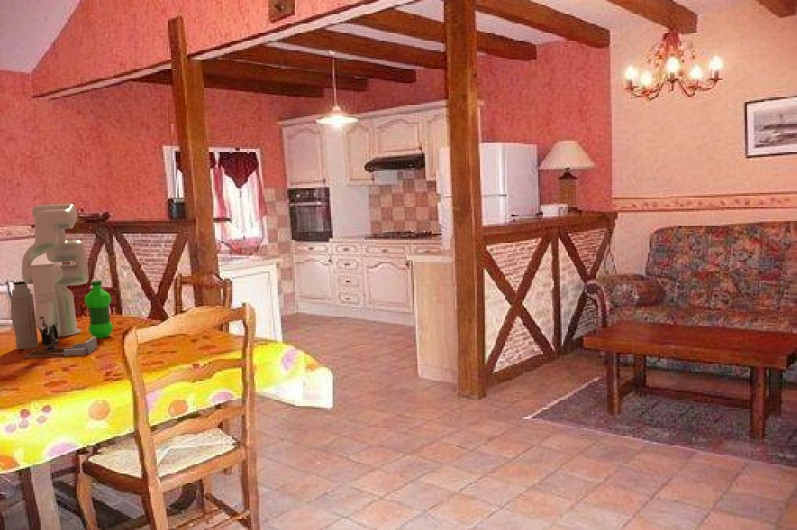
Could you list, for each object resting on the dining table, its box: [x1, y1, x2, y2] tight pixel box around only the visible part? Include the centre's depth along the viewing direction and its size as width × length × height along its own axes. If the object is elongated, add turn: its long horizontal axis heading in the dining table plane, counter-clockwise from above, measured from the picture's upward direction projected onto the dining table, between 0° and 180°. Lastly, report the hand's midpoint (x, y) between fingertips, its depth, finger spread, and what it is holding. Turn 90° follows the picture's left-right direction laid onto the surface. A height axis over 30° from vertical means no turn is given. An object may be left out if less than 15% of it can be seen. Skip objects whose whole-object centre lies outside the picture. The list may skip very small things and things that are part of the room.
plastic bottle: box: [84, 279, 114, 339], centre depth 288 cm, size 10×10×25 cm
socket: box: [63, 336, 98, 357], centre depth 261 cm, size 10×9×5 cm
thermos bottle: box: [10, 280, 39, 350], centre depth 273 cm, size 8×8×28 cm
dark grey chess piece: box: [43, 326, 60, 351], centre depth 260 cm, size 6×6×12 cm
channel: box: [23, 346, 73, 360], centre depth 261 cm, size 10×15×1 cm, turn 96°
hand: (50, 342), depth 260 cm, fingers closed on dark grey chess piece, 5 cm apart
